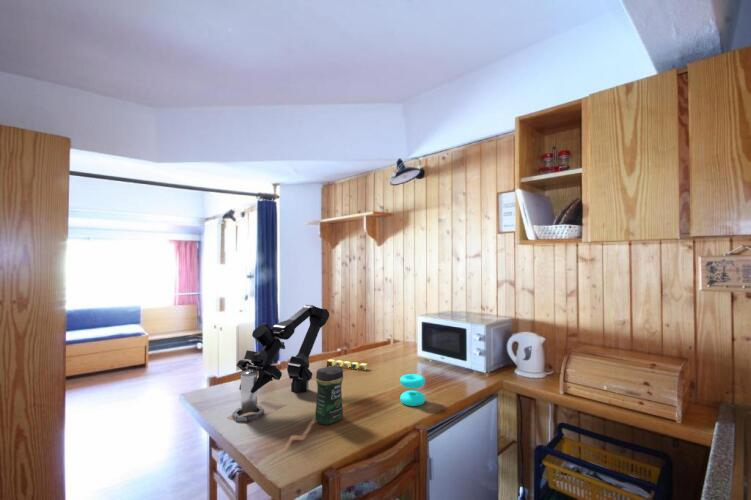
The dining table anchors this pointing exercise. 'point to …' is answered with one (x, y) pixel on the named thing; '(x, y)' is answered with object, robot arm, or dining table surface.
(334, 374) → the coffee jar
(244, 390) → the cylinder
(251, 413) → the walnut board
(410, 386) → the donuts
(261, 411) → the ring collar
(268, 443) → the dining table surface
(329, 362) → the yellow segmented block row
